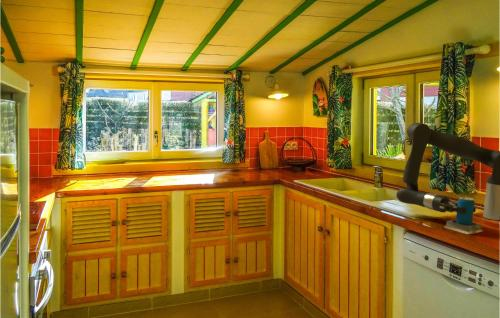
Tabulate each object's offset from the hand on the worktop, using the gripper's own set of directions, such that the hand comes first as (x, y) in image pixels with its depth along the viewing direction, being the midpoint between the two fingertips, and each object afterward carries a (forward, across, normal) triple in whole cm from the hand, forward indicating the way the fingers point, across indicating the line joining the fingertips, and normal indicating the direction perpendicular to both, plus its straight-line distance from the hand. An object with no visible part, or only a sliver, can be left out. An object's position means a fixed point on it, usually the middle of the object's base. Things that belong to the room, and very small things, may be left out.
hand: (470, 210), depth 188 cm
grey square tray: (-2, 0, +9) cm, 9 cm away
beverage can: (-2, 0, +7) cm, 8 cm away
